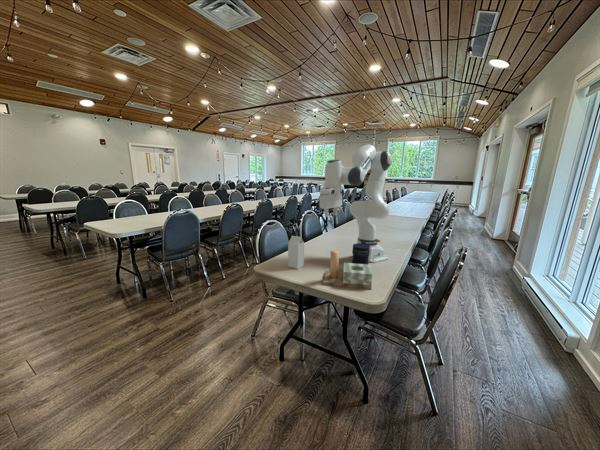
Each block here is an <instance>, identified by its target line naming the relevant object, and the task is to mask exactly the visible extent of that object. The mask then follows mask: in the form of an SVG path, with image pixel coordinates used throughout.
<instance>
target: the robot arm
mask: <svg viewBox="0 0 600 450" xmlns="http://www.w3.org/2000/svg"><path fill="white" fill-rule="evenodd" d="M351 157H352V158H351V161H352V162H351V163H352V164H353V166H344V165H343V164H342V160H340V159H330V160H327V161H326V164H325V168H324V178H325V179H324V181H325V182H324V186H323V187H322V188H321V189H319V194H320V196H319V208H320V209H323V212H324V217H325V218H327V217H328V218H329V217H330V213H329V209H333V212H332V215H333V216H337V214H338V210H339V208H340V207H342V206H343V195H342V193H341V192H342V191H341V190H342V185H343V186H345V185H346V186H347V185H348V186H355V187H358V186H361V185H362V184H363V182H364V180H365V179H366V176H367V175H368V173H369V171H370V170H371V172H370V175H369V176H368V179H367V184H366V186H365V190H364V193H365V195H366V196H367V197H368V198H370V199H371V200H369V201H368V200H355V201H352V202H351V203H350V206H349V212H350V213H351V215H352V216H353V218H355V221H356V223H357V225H358V237H357V244H358V243H361V244H367V245H369V246H370V253H369V259H368V262H369V263H374V264H375V263H379V262H383V261H387V260H388V259H389V257H388V255H386V254H385V249H384V247H382V246H381V245H379V244H378V243H381V239H380V238H377V227H376V225H375V224H373V222H371V221H370V219H374V220H375V219H376V220H381V219H382V220H383V219H386V218H387V217H388V216H389V214H390V206H389V205H388V204H387V202H385V200H384V198H383V191H384V187H385V183H386V171H388V169H389V168H390V166H392V163H393V155H392V153H391V152H390V151H387V150H383V151H377V149H376V147H375V146H374V145H372V144H369V143H368V144H365V145H363V146H361V147H359V148H358V149H357V150H356V151H355V152H354V153H353V154H352V156H351Z"/></svg>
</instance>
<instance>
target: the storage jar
mask: <svg viewBox="0 0 600 450" xmlns="http://www.w3.org/2000/svg"><path fill="white" fill-rule="evenodd" d="M369 253H370V246H369V245H367V244H361V243H358V242H357V243H353V244H352V254H351V255H352V259H351V263H355V264H368V265H370V262H368V259H369Z"/></svg>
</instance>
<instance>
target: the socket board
mask: <svg viewBox="0 0 600 450" xmlns="http://www.w3.org/2000/svg"><path fill="white" fill-rule="evenodd" d="M322 281H323V282H322V285H323V286H331V287H332V286H333V287H340V288H341V287H342V288H350V289H351V288H353V289H365V290H372V283H373V282H372V281H373V272H372V267H371V264H369V265H368V264H355V263H352V262H343V271H338V278H330V270H325V273H324V277H323V280H322Z"/></svg>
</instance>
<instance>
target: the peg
mask: <svg viewBox="0 0 600 450" xmlns="http://www.w3.org/2000/svg"><path fill="white" fill-rule="evenodd" d="M339 259H340V251H339V250H331V251H330V263H329V266H330V267H329V271H330V278H338V272H339V267H340V266H339V264H340V260H339Z"/></svg>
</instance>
